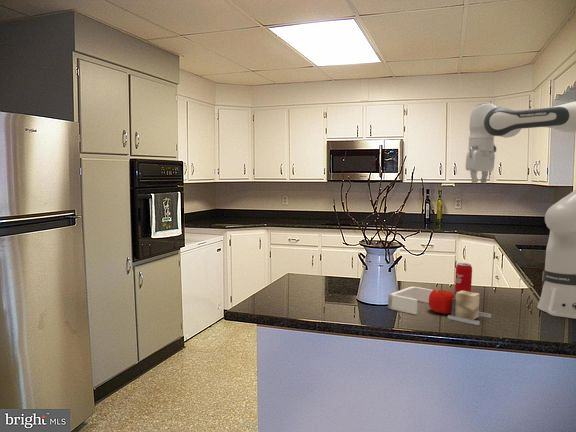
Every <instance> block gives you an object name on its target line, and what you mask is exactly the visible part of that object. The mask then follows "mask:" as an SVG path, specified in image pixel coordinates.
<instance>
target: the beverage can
mask: <svg viewBox="0 0 576 432" xmlns="http://www.w3.org/2000/svg"><path fill="white" fill-rule="evenodd" d="M454 279H455V280H454V292H455V294H456V293H457V292H459V291H468V292H472V281H473V280H472V279H473V267H472V264H471V263H468V262H458V263H457V264H456V266H455V278H454Z"/></svg>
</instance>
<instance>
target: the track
mask: <svg viewBox="0 0 576 432" xmlns="http://www.w3.org/2000/svg"><path fill="white" fill-rule="evenodd" d="M478 317H482V318H487V319H491V318H492V313H487V312H483V311H479V314H478ZM447 319H448V320H452V321H456V322H460V323H464V324H465V323H466V324H471V325H474V326H480V323H481V322H480V320H478V319H477V320H476V319H474V320H472V319H467V318H463V317H458V316H453V315H451V314H447Z"/></svg>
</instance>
